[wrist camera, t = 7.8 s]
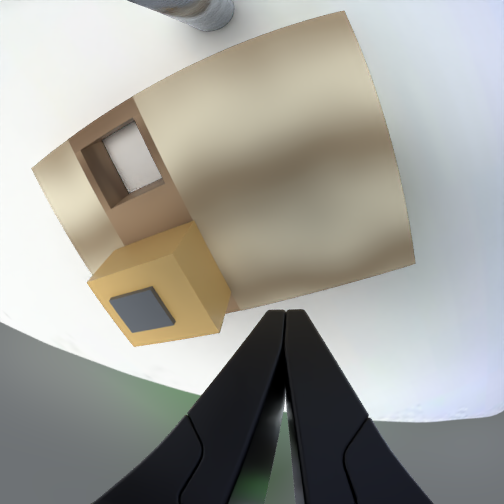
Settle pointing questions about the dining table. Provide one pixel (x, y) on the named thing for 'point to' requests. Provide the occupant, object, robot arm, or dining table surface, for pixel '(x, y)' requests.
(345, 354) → the dining table surface
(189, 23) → the peg
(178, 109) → the subfloor board
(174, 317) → the block
